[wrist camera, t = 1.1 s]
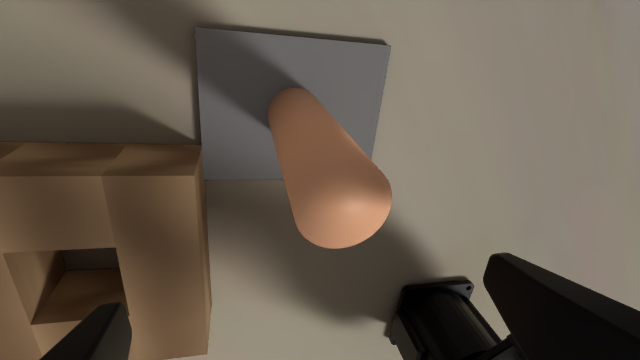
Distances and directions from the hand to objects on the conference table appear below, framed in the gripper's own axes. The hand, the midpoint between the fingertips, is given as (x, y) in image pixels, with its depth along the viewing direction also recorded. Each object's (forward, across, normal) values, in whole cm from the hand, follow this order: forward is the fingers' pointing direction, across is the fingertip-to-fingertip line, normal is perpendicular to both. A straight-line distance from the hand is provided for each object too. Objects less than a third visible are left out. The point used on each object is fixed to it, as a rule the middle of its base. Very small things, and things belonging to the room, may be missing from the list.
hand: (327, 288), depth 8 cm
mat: (+13, -1, -1) cm, 13 cm away
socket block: (+13, +10, +6) cm, 18 cm away
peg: (+12, -1, -1) cm, 12 cm away
